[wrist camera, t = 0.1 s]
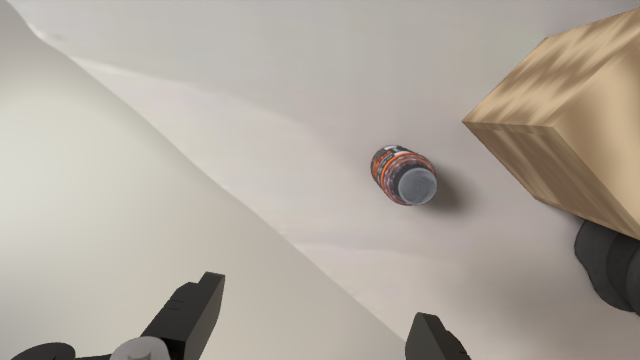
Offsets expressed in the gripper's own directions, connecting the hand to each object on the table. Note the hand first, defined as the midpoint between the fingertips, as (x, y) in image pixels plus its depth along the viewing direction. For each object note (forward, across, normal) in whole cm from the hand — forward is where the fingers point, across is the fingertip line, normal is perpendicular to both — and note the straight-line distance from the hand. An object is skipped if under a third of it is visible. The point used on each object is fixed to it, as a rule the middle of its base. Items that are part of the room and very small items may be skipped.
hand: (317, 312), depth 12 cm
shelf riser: (+29, -28, -13) cm, 42 cm away
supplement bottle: (+30, -10, -3) cm, 31 cm away
